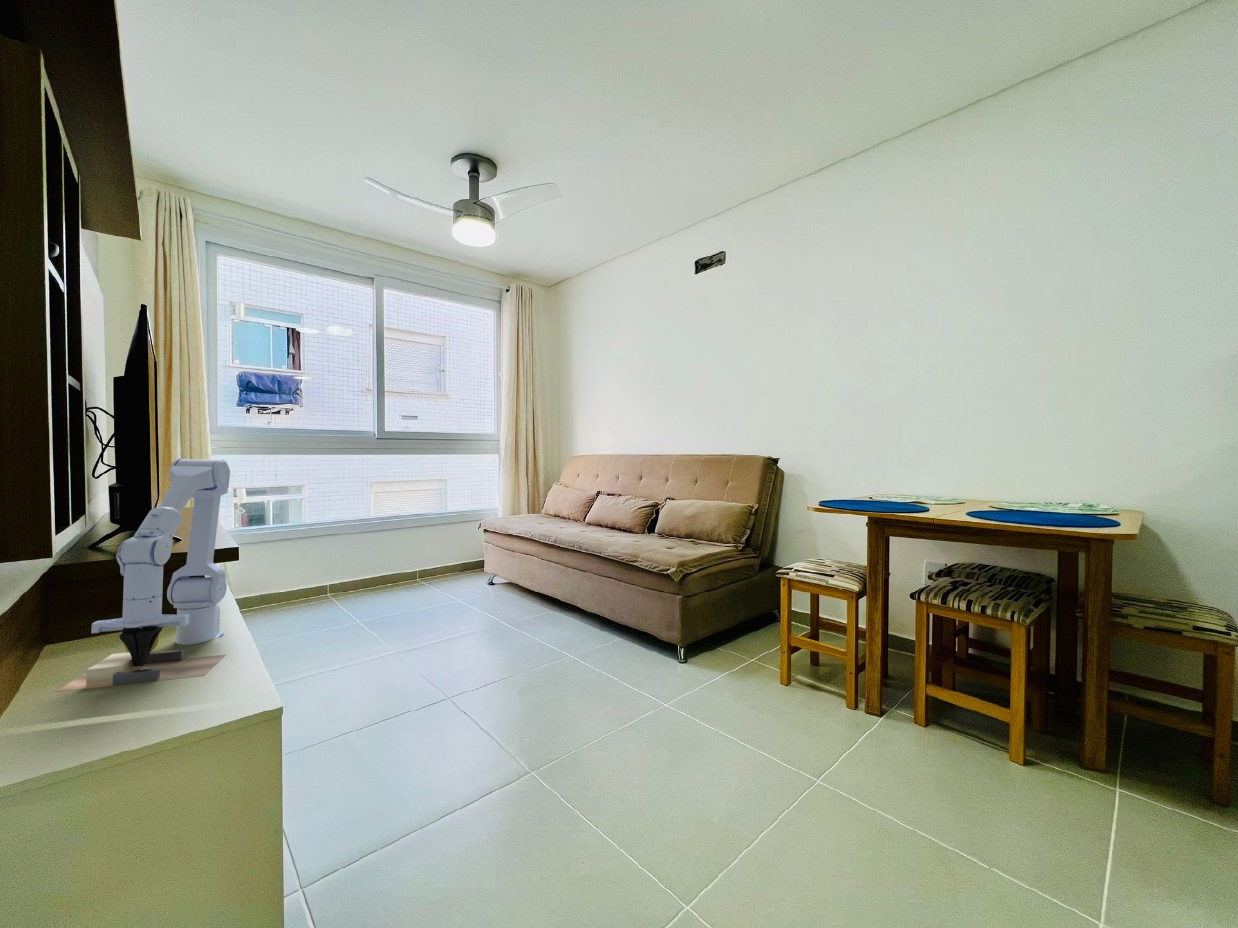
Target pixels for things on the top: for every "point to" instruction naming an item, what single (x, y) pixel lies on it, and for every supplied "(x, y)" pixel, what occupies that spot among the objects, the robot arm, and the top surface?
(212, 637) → the robot arm
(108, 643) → the top surface
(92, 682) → the block
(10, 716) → the top surface
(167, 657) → the channel
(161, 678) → the board
